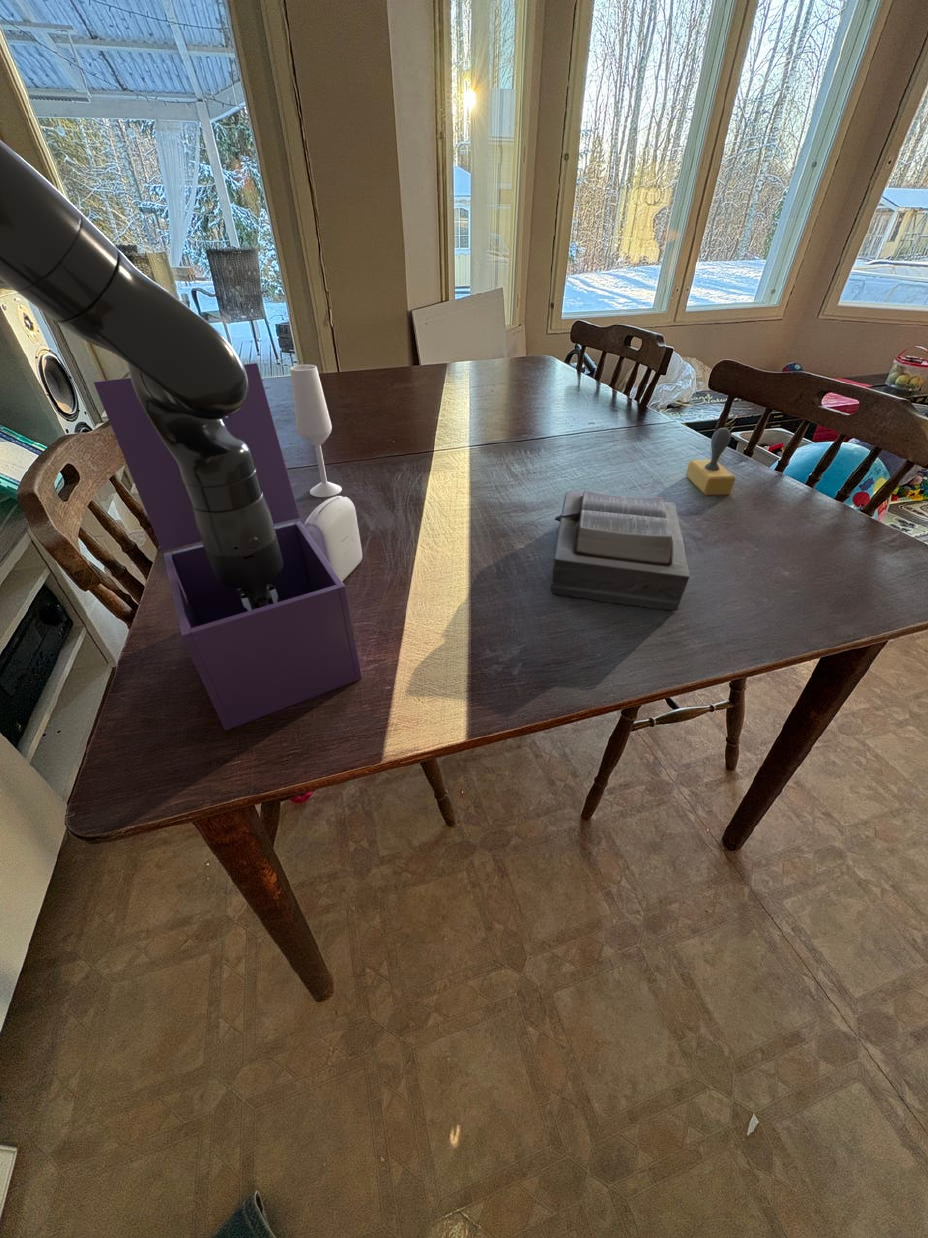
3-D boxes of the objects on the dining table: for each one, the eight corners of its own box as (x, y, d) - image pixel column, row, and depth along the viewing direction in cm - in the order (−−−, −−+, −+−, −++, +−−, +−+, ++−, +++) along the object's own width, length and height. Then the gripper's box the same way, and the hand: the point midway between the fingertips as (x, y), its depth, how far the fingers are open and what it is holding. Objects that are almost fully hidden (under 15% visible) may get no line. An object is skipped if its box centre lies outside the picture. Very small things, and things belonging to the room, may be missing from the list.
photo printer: (334, 592, 79) (320, 520, 72) (311, 587, 81) (294, 516, 73) (366, 559, 87) (357, 491, 79) (344, 554, 88) (332, 487, 80)
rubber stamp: (684, 475, 114) (700, 420, 106) (710, 474, 114) (727, 419, 107) (704, 495, 106) (722, 437, 98) (731, 494, 106) (751, 436, 99)
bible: (520, 587, 80) (525, 532, 74) (566, 514, 99) (572, 465, 93) (675, 625, 73) (695, 567, 67) (692, 538, 92) (708, 486, 86)
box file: (362, 678, 65) (345, 586, 56) (225, 731, 58) (181, 635, 49) (319, 606, 77) (300, 520, 68) (201, 643, 70) (163, 553, 61)
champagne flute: (345, 493, 107) (326, 369, 92) (314, 499, 105) (288, 373, 90) (336, 481, 112) (316, 361, 97) (306, 487, 110) (280, 365, 95)
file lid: (257, 362, 59) (256, 363, 60) (93, 381, 53) (94, 382, 53) (300, 517, 67) (298, 516, 68) (161, 550, 61) (161, 549, 61)
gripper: (193, 517, 59) (233, 625, 69) (214, 576, 50) (256, 692, 60) (259, 502, 62) (288, 608, 72) (291, 556, 52) (319, 669, 63)
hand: (274, 646), depth 66 cm, fingers open, 8 cm apart
